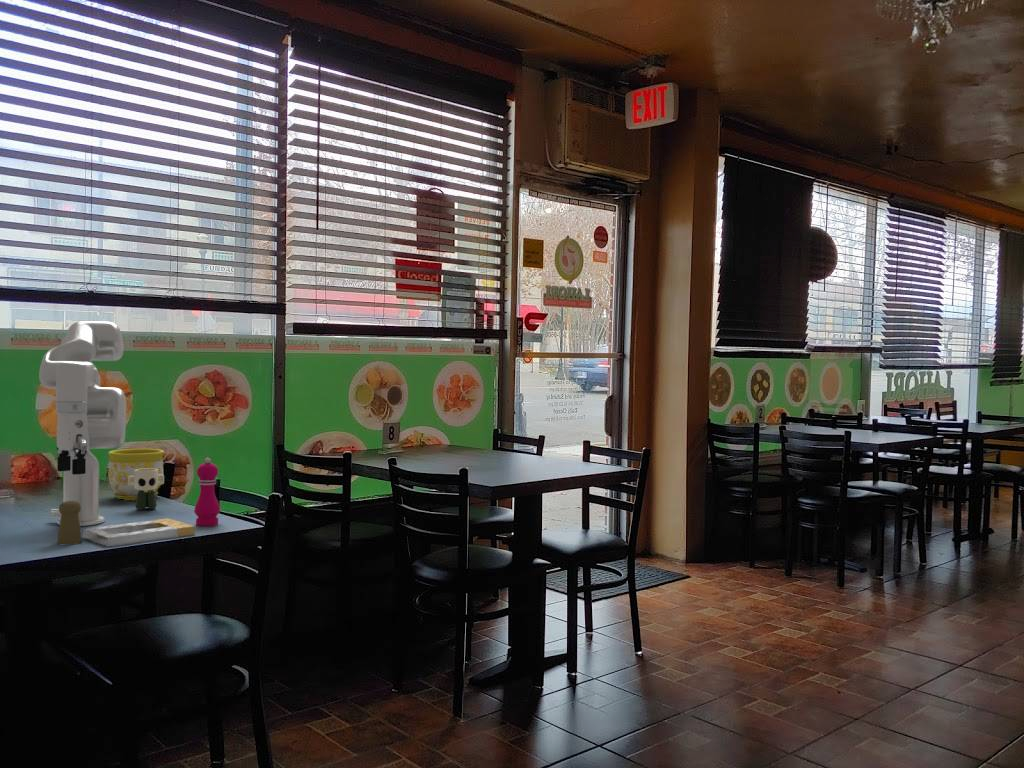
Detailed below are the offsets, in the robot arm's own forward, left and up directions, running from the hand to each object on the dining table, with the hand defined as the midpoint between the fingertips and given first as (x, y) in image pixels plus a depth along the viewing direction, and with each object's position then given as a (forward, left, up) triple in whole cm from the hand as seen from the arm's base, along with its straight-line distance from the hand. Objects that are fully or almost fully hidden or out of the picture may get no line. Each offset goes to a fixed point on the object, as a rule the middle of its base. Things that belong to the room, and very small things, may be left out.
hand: (71, 472), depth 235 cm
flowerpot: (-11, +74, -19) cm, 77 cm away
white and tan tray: (+15, +9, -19) cm, 25 cm away
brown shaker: (0, 0, -19) cm, 19 cm away
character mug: (+1, +51, -19) cm, 54 cm away
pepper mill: (+28, +27, -19) cm, 43 cm away
